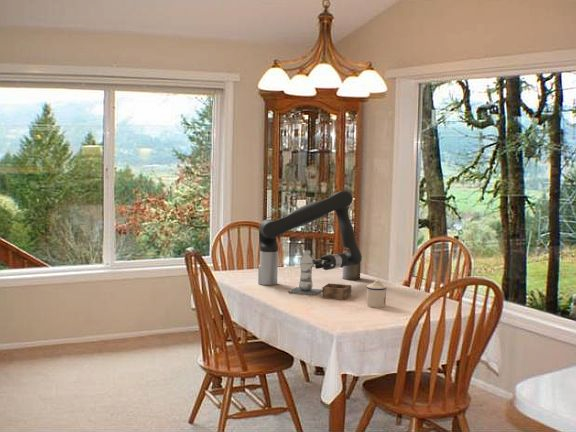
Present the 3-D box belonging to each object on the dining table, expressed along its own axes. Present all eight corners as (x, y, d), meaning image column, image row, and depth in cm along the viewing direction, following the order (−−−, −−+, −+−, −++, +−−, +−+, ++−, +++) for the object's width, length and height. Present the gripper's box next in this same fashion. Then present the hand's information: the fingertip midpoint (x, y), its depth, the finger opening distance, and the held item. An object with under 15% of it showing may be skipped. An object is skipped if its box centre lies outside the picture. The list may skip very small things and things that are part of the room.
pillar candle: (363, 278, 390) (363, 251, 389) (355, 280, 382) (355, 253, 380) (347, 276, 395) (348, 249, 394) (339, 279, 387) (339, 251, 386)
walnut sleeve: (322, 297, 340) (322, 287, 339) (328, 293, 350) (328, 283, 349) (345, 299, 336) (345, 289, 336) (350, 295, 346) (351, 285, 345)
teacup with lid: (388, 307, 322) (389, 282, 320) (369, 308, 320) (370, 282, 319) (380, 301, 333) (381, 277, 332) (361, 302, 332) (362, 277, 330)
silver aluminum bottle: (303, 288, 357) (304, 249, 355) (315, 290, 353) (315, 250, 351) (296, 290, 352) (297, 250, 350) (307, 292, 348) (308, 252, 346)
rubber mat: (288, 292, 349) (288, 291, 349) (296, 288, 360) (296, 287, 360) (315, 295, 344) (315, 294, 344) (322, 290, 356) (322, 289, 355)
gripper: (320, 252, 369) (299, 256, 357) (341, 256, 359) (320, 259, 347) (320, 267, 369) (299, 270, 358) (341, 271, 359) (320, 275, 348)
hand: (309, 265), depth 352 cm, fingers open, 8 cm apart
